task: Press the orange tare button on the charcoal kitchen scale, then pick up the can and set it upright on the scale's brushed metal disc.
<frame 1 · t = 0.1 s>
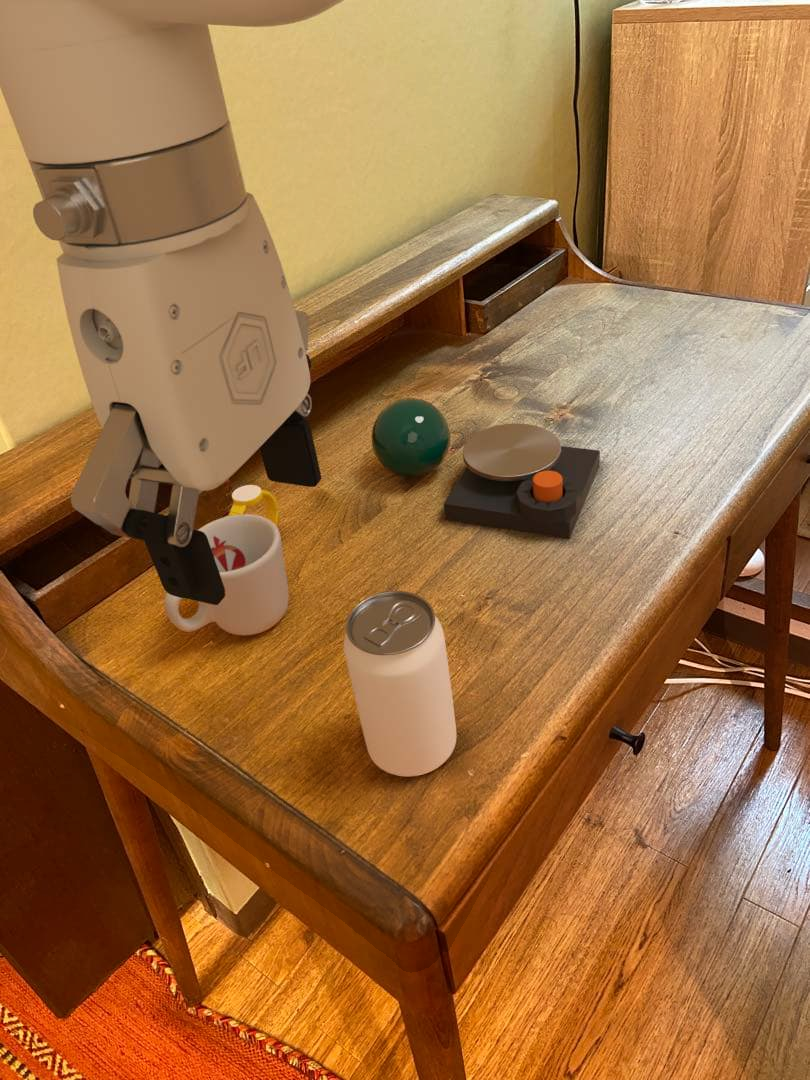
hand: (249, 534, 42), 22 cm above the table, tool pointing down, fingers open, 9 cm apart
tare button: (547, 486, 74), point 4 cm above the table, slide at 0.1 cm
watch: (260, 545, 79), on the table
cup: (240, 624, 70), on the table
brushed metal disc: (511, 453, 79), resting on scale
can: (412, 743, 59), on the table
sphere: (415, 472, 86), on the table
scale: (524, 492, 80), on the table
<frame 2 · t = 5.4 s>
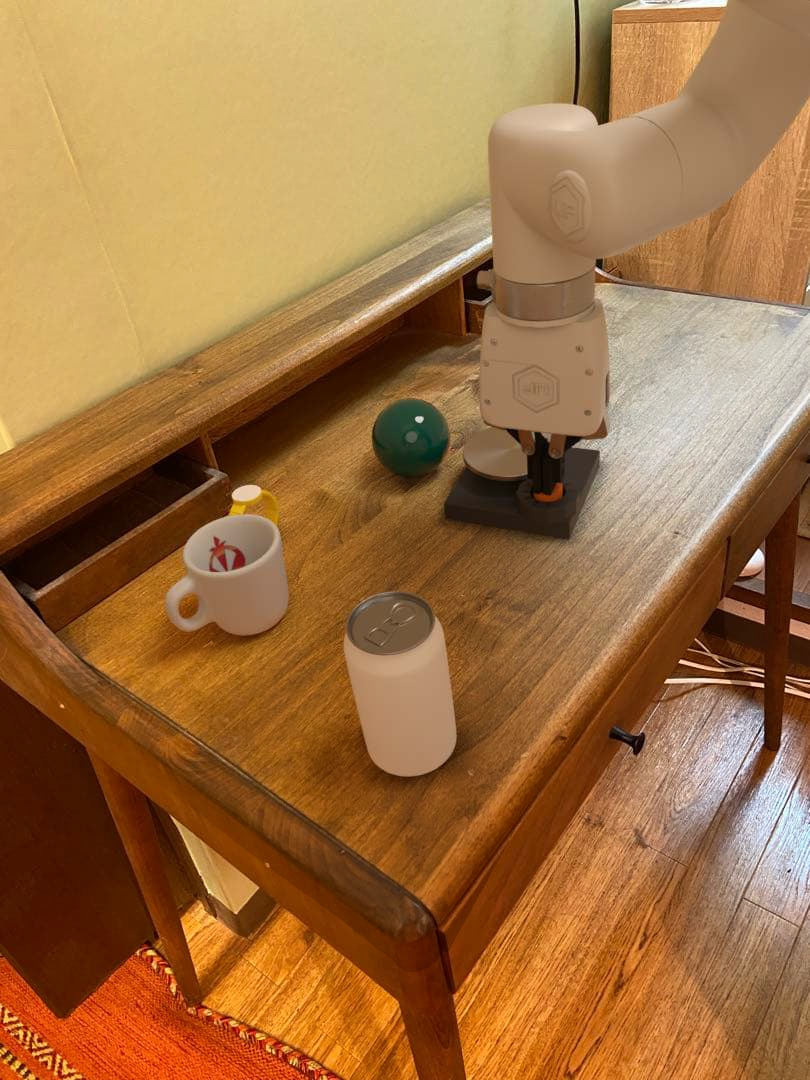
hand: (546, 485, 74), 4 cm above the table, tool pointing down, fingers closed
tare button: (547, 494, 74), point 3 cm above the table, slide at -0.7 cm, touching gripper
everything else where it was.
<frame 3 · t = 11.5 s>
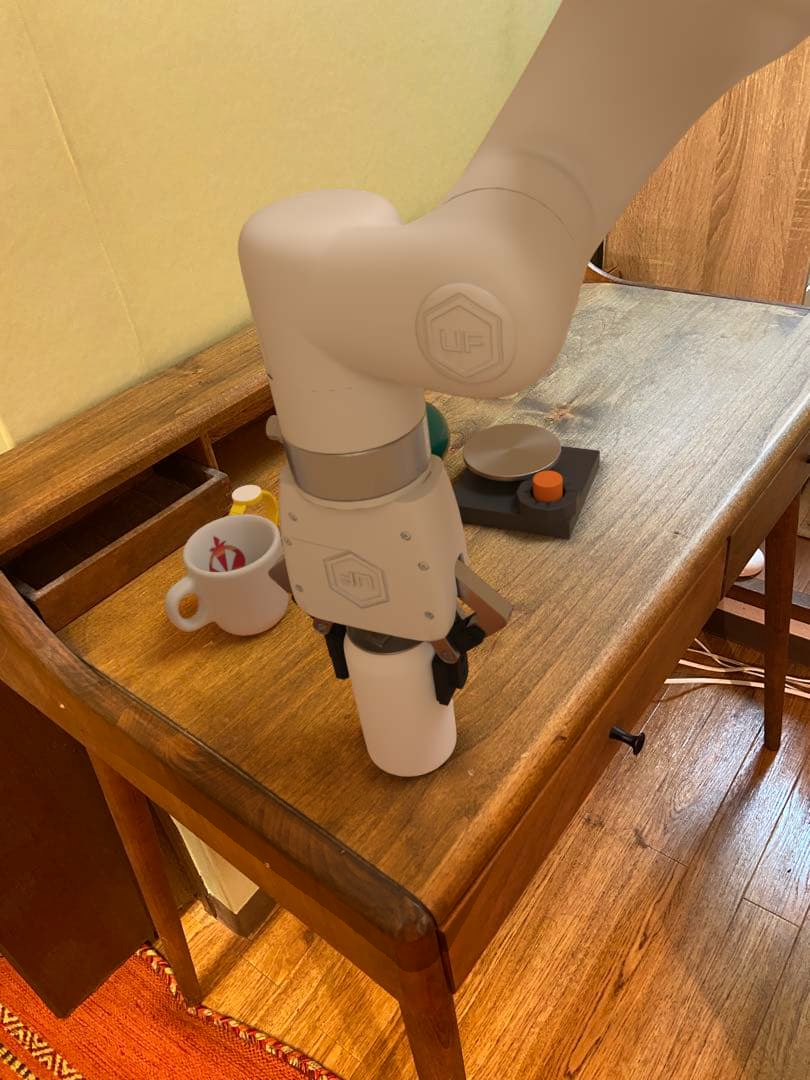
hand: (399, 674, 54), 7 cm above the table, tool pointing down, fingers closed on can, 6 cm apart
tare button: (547, 486, 74), point 4 cm above the table, slide at 0.1 cm
can: (412, 743, 59), on the table, touching gripper
everything else where it was.
when the fingers open (11 cm above the table, at t = 18.4 s): can stays where it is, resting on brushed metal disc.
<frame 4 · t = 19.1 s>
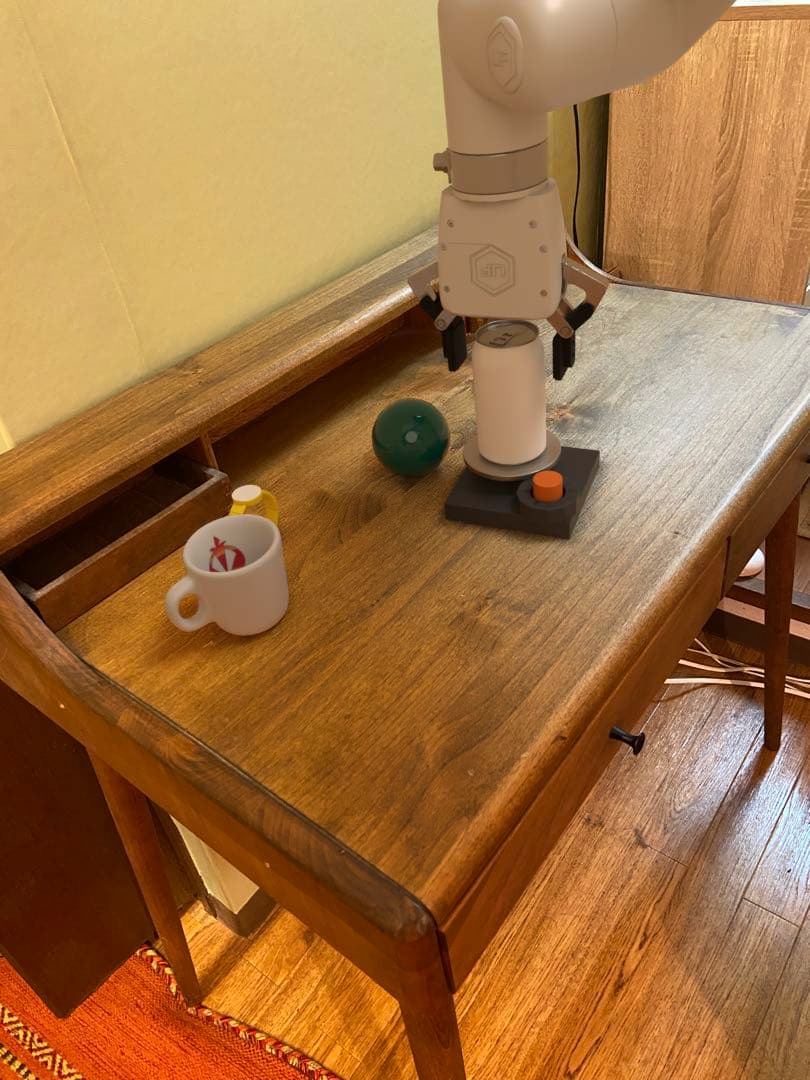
hand: (508, 369, 74), 13 cm above the table, tool pointing down, fingers open, 9 cm apart
can: (512, 450, 79), point 4 cm above the table, touching brushed metal disc
everything else where it was.
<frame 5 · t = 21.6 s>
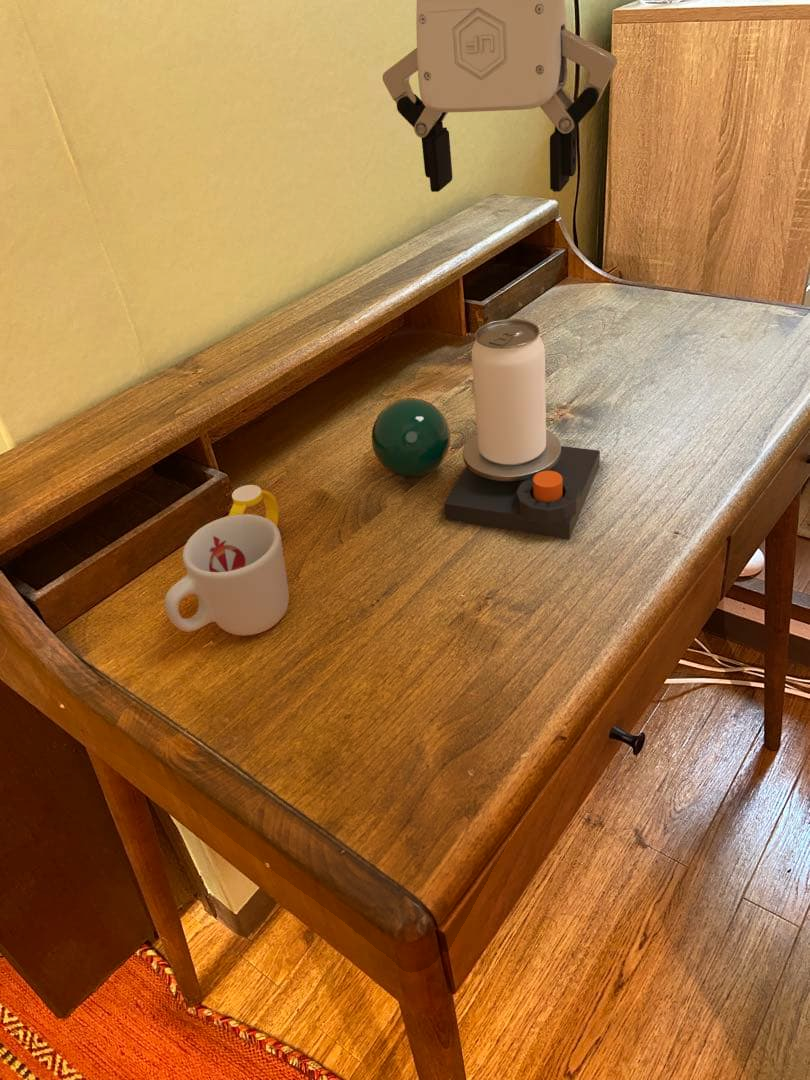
hand: (499, 186, 64), 28 cm above the table, tool pointing down, fingers open, 9 cm apart
nothing on the table moved.
at the end: tare button pushed in 0.9 cm at the most during the clip, back to where it started at the end; can 0.1 cm off-centre on the brushed metal disc, point 0.4 cm above the brushed metal disc's base; can tilted 0° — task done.
